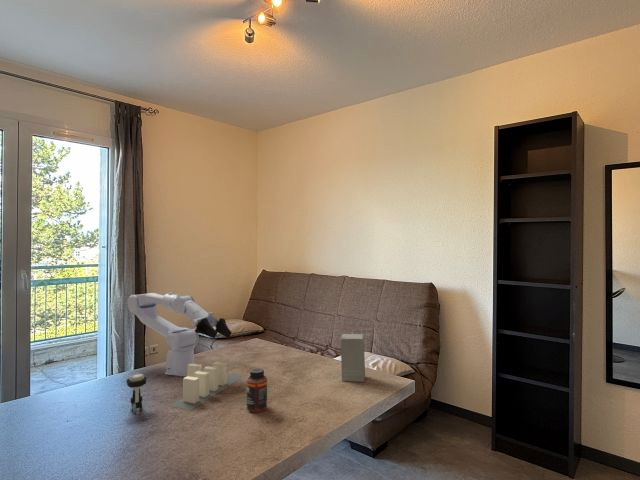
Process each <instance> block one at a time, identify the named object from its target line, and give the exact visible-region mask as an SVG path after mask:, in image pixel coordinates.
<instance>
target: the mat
mask: <svg viewBox="0 0 640 480" xmlns="http://www.w3.org/2000/svg"><path fill="white" fill-rule="evenodd" d="M244 377H245V375H242V374H237V373H235V374H234V373H230V372H229V373H228V372H227V384H225V385H224V386H222V385H218V389H217V390H216V391H210V390H209V395H208V396H206V397H201V396H199V401H198V402H197V403H189V402H183V397H182V398H180V399H178V400H177V401H174V402H173V403H172V404H170V405H169V407H171V408H176V409H182V410H187V411H192V410H194V409H196V408H197V407H198V406H200V405H201V404H203V403H206V401H208V400H209V399H211V398H213V397H214V396H215V395H217V394H219V393H220V392H222V391H223V390H225V389H227V388H228V387H230V386H231V385H233V384H235V383H236V382H237V381H239V380H241V379H243V378H244Z"/></svg>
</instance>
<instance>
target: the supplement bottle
mask: <svg viewBox="0 0 640 480" xmlns="http://www.w3.org/2000/svg"><path fill="white" fill-rule="evenodd" d="M249 372H250V373H249V374H250V376H249V377H247V380H246V410H247V411H249V412H250V413H261V412H263V411H265V410H267V408H268V379H267V377H266V376H265V370H264V368H260V367H257V368H256V367H255V368H251V369H250V371H249Z"/></svg>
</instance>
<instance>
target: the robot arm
mask: <svg viewBox="0 0 640 480" xmlns="http://www.w3.org/2000/svg"><path fill="white" fill-rule="evenodd" d="M126 302H127V308H128V311H129V312H130V313H132V314H134V315H135V316H136V317H137V318H138V320H139V321H140V322H141V323H142V324H143V325H145V326H146V327H148V328H149V329H152V330H153V331H154V332H156V333H158V334H160V335H161V336H163V337H165V343H166V344H167V345H168V346H169V347H170V349H169V350H168V351H167V353H166V358H165V359H166V360H165V361H166V363H165V368H166V369H165V370H166V371H165V372H164V374H165V375H168V376H175V377H176V376H179V377H187V371H188V365H189V364H191V363H192V364H195V362H194V361H195V360H194V359H195V348H196V346H197V344H198V343H199V339H200V338H199V336H200V335H199V334H202V335H205V336H207V337H210V338H212V339H216V337H217V336H218V334H220V335H222V336H224V337H226V338H230V337H231V335H232V331H231V330H230V328H229V327H228V325H227V321H226V319H225V318H222V317H221V318H219V319H218V318H216V317H215V315H214V312H212V311H210V312H208V311H206V310H205V309H203V307H201V306H200V305H199V304H197V303H196V301H195V298H194V297H193V296H192V295H190V294H188V295H182V294H174V292H172V291H171V292H167V293H166V294H164V295H163V294H160V293H156V292H148V293H142V294H131V295H130V296H128V298H127V301H126ZM158 305H161V306H162V308H164V309H169V310H173V311H174V313H176V314H181V315H184V316H185V317H186V318H187V319H188V320H190V321H191V322H190V326H192V327H193V328H188V327H181V326H180V327H179V326H177V325H176V324H174V323H172V322H170V321H169V320H167V319H165V318H163V317H162V316H160V315H159V314H157V313H158ZM194 328H195V329H194Z"/></svg>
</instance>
